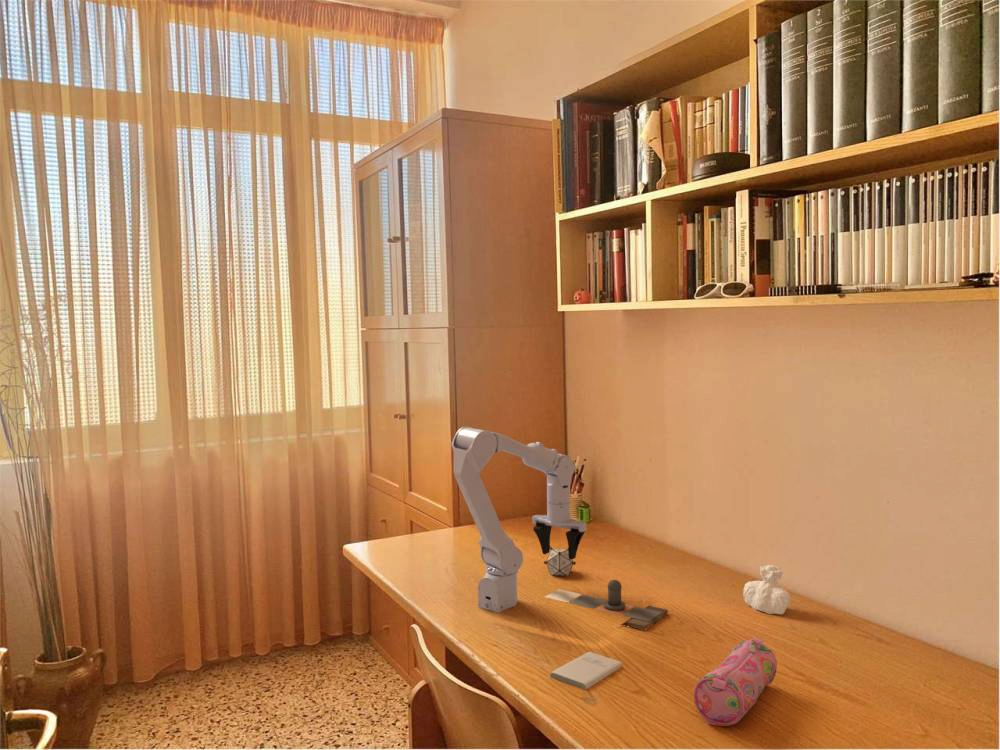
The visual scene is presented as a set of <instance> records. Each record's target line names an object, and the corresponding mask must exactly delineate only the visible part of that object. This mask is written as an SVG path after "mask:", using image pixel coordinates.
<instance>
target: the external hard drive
mask: <svg viewBox="0 0 1000 750" xmlns="http://www.w3.org/2000/svg"><path fill="white" fill-rule="evenodd" d="M621 666H622V667H623V662H621V661H619V660H616V659H613V658H610V657H607V656H604V655H601V654H598V653H595V652H591V651H588V652H585V653H583V654H582V655H580V656H578V657H576V658H574V659H572V660H570V661H569V662H567V663H566V664H563V665H562V666H560V667H558V668H557V669H554V670H553V671H551V672H550V678H552V679H555V680H558V681H560V682H563V683H565V684H569V685H571V686H575V687H577V688H580V689H583V690H587V689H590V688H591V687H593V686H594V685H595V684H597V683H599V682H600V681H603V679H605V678H607V677H608V676H610V675H612V674H614V673H615V672H616V671H618V670H619V669H618V668H620V667H621ZM622 667H621V668H622ZM621 668H620V669H621ZM617 669H618V670H617ZM614 671H615V672H614ZM611 673H612V674H611Z"/></svg>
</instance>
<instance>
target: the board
mask: <svg viewBox="0 0 1000 750" xmlns="http://www.w3.org/2000/svg"><path fill="white" fill-rule="evenodd" d="M544 598H546V599H550V600H554V601H558V602H564V603H569V604H573V605H577V606H580V607H584V608H589V609H594V610H597V611H601V612H607V613H610V614H611V613H612V614H615V615H619V616H623V617H629V619H628V620H626V621H624V622H623V623H622V624H621V626H622V625H625V626H624V627H626V626H629V627H628V628H630V627H634V628H633V629H635V628H638V629H637V630H639V629H642V630H641V631H643V630H645V629H647V628H648V627H649V628H651V627H652V626H653V625H655V624H656V623H657V622H659V621H660V620H662V619H663V618H664V617H665V615H666V614H667V613H669V612H668V610H669V609H666V608H663V607H662V608H661V607H657V606H653V605H647V607H645V608H644V607H639V606H634V605H632V604H627V603H625V609H624V610H621V611H610V610H607V609H605V608H604V603H605V602H606V601H608V599H604V598H600V597H595V596H591V595H587V594H581V593H577V592H573V591H569V590H564V589H559V588H558V589H556V590H555V591H553V592H550V593H549V594H547V595H545V596H544ZM667 615H668V614H667ZM667 615H666V616H667ZM663 616H664V617H663ZM662 617H663V618H662ZM661 618H662V619H661ZM659 619H660V620H659ZM658 620H659V621H658ZM656 621H657V622H656ZM655 622H656V623H655ZM654 623H655V624H654ZM652 624H653V625H652ZM651 625H652V626H651ZM650 626H651V627H650ZM649 628H648V629H649ZM648 629H647V630H648ZM645 631H646V630H645Z"/></svg>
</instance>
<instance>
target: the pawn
mask: <svg viewBox="0 0 1000 750" xmlns="http://www.w3.org/2000/svg"><path fill="white" fill-rule="evenodd" d="M622 588H623V587H622V583H621V581H619V580H617V579H612V580H610V581H609V582H608V583H607V601H605V602H604V603H603V604H604V608H605V609H607V610H610V611H621V610H624V609H625V604H626V603H625V602H623V601H622Z"/></svg>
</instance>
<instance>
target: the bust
mask: <svg viewBox="0 0 1000 750" xmlns="http://www.w3.org/2000/svg"><path fill="white" fill-rule="evenodd" d="M759 568H760V569H759V571H760V573H759V574H760V576H761V577H762V580H753V581H748V582H746V583H745V584H744V587H743V600H744V602H745V603H746V604H747V605H748V606H750V607H752V609H753V610H755V611H760V612H764V613H766V614H768V615H784V614H785V612H786V609H787V608H788V606H789V604H790V603H791V601H792V599H791V598H792V597H791V595H790V593H789V592H788V591H787V590H786V589H785V588H784V587H783V586H779V582H778V580H780V581H781V580H782V575H783V574H784V572H783V571H782V569H781V567H780V566H778V565H776V564H767V565H764V566H762V565H759Z"/></svg>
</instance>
